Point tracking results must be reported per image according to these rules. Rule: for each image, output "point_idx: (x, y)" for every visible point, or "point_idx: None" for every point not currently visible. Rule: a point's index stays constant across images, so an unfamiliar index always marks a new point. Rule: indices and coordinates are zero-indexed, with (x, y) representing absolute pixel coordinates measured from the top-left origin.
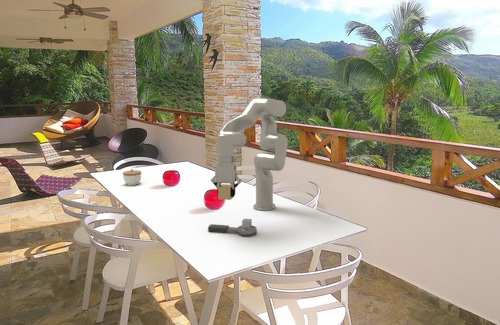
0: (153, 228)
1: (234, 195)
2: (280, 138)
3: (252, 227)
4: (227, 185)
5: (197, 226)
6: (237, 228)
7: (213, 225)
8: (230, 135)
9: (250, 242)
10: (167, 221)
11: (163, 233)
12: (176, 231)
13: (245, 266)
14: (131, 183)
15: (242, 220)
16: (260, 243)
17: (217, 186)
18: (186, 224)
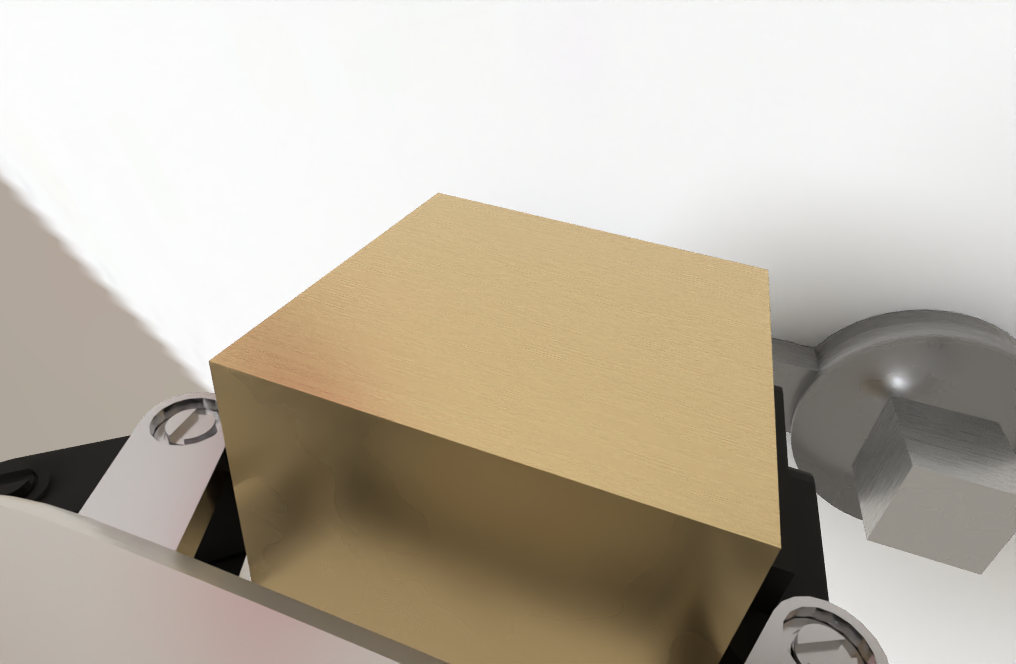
0: (60, 237)
1: (779, 387)
2: None
3: (1009, 430)
4: (481, 582)
5: (342, 186)
6: (793, 437)
7: None
8: None
9: (909, 595)
10: (26, 44)
11: (183, 341)
12: (240, 308)
13: None
14: None
15: (875, 525)
16: (1011, 630)
17: (206, 559)
18: (222, 128)
